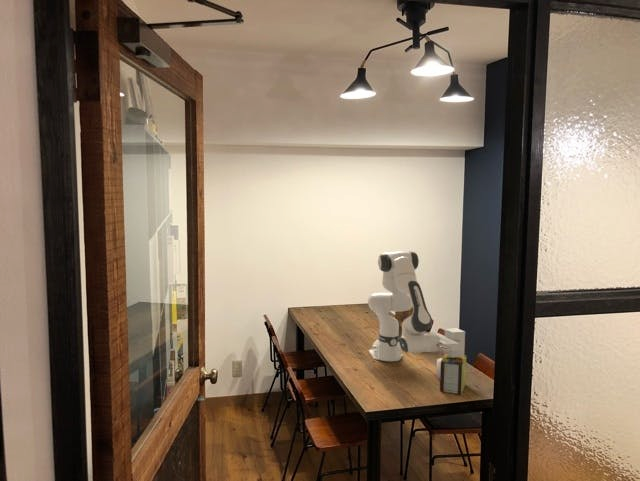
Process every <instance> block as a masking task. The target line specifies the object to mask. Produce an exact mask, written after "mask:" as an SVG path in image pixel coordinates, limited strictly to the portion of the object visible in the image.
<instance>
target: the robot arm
mask: <svg viewBox="0 0 640 481" xmlns="http://www.w3.org/2000/svg"><path fill="white" fill-rule="evenodd" d="M419 262H420V260H419V256H418V254H417V253H416V252H415V251H391V252H383V253H381V254H380V255H378V259H377V265H378V268H379V270H380V271H381V272H382V286H383V288H384V289H385V290H387V291H388V292H376V293H371V294H370V295H369V297H368V299H367V304H368V308H370V310H371V311H372V312H374V314H376V316H377V318H378V322H379V333H378V335H377V336H378V338H377V339H376V340H375V341H374V342H373V343H372V345H371V349H369V350H368V353H369V354H370V355H371V357H372V358H373V360H377V361H384V362H398V361H400V360H401V359H402V358H404V354H402V351H403V352H404V353H407V354H420V353H432V352H435V353H436V352H437V351H439V349H441V350H443V351H444V350H445V351H458V350H459V345H462V342H461V341H457V342H455V341H453V340H451V339H449V338H447V337H445V334H444V335H443V334H441V333H439V332H435V331H434V332H433V331H431V332H430V331H429V330H430V329H431V327H432V326H433V319H432V315H431V314H430V312H429V310H428V307H427V305H426V301H425V298H424V294H423V291H422V288H421V286H420V283H419V282H418V280H417V274H416V271H415V270H417V269H418V268H419ZM412 306H413V313H412V315H411V316H410V317H408V318H407V319H405V320H404V321H403V323H402V336H401V338H400V342H399V322H398V320H397V319H395V317H393V316H391V315H390V314H389V313H390V312H394V313H395V312H403V311H408V310H410V308H411V307H412ZM428 331H429V332H428Z"/></svg>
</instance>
